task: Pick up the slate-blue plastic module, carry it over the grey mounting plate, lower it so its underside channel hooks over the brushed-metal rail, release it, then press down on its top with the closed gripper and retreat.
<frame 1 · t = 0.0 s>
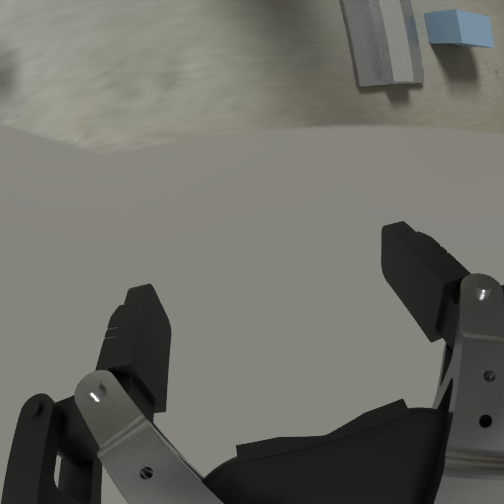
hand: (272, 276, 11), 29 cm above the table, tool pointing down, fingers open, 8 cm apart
din rail: (377, 12, 29), on the table
module: (443, 30, 30), on the table
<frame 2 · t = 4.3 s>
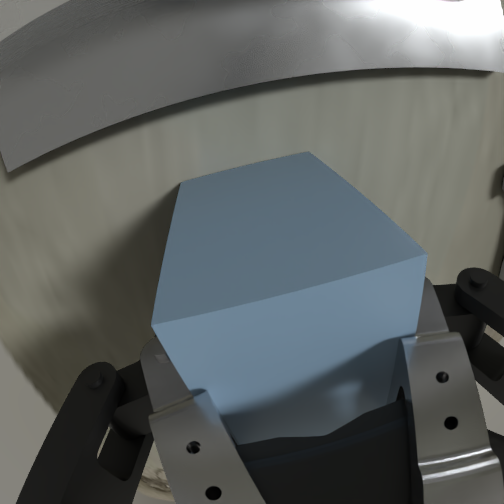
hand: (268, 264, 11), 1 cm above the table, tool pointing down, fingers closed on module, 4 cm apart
module: (263, 247, 12), on the table, touching gripper
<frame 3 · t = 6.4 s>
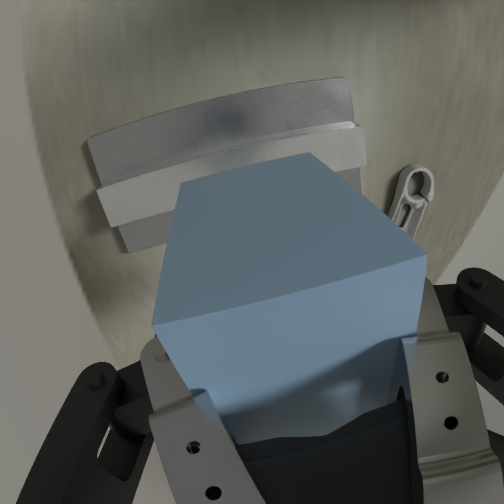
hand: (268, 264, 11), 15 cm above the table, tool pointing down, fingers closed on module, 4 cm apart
din rail: (230, 160, 24), on the table
bracket: (399, 235, 30), on the table
module: (264, 248, 12), point 14 cm above the table, touching gripper
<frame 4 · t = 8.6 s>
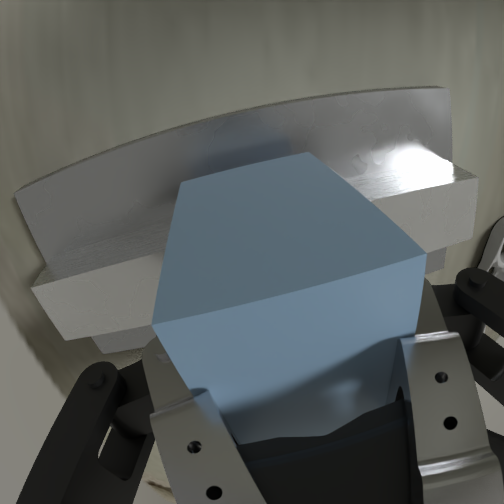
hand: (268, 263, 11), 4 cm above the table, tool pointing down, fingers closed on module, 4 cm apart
din rail: (255, 222, 15), on the table
bracket: (473, 300, 21), on the table
module: (263, 247, 12), point 2 cm above the table, touching gripper
when the fingers open (4 cm above the table, at t = 8.8 s): module drops 1 cm, resting on din rail.
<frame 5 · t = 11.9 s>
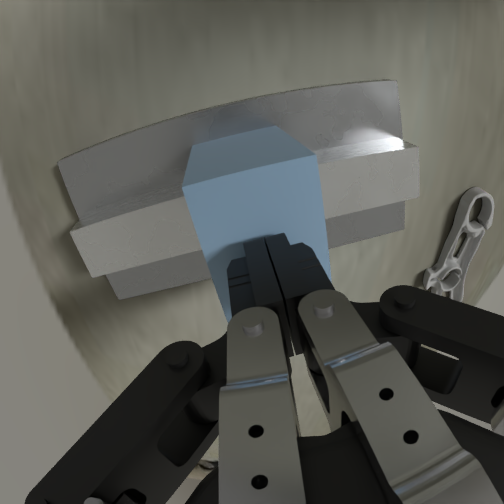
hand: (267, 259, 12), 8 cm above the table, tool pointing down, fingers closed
din rail: (244, 186, 19), on the table
bracket: (450, 264, 25), on the table
module: (247, 191, 18), point 1 cm above the table, touching din rail
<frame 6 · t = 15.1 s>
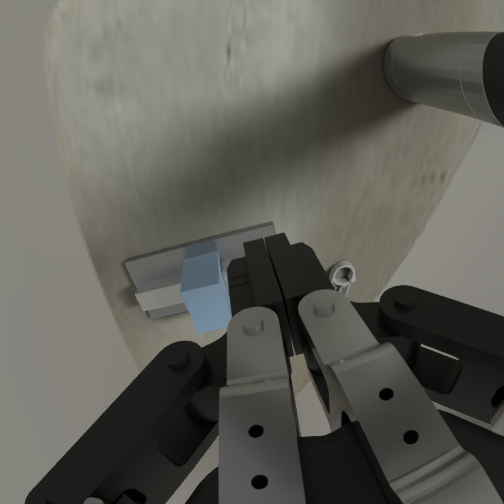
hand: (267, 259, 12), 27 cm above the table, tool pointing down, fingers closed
din rail: (206, 272, 44), on the table
bracket: (334, 299, 50), on the table
module: (207, 276, 43), point 1 cm above the table, touching din rail
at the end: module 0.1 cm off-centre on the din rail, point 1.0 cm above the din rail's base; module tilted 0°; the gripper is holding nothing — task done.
